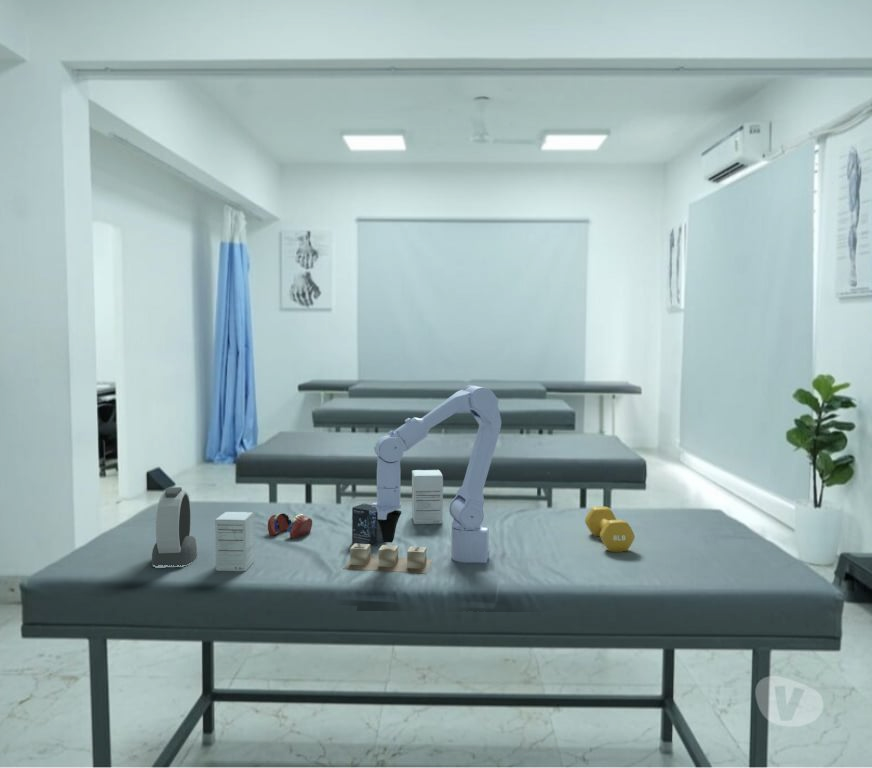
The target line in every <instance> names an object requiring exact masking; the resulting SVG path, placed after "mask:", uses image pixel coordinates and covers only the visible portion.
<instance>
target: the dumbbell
mask: <svg viewBox="0 0 872 768" xmlns="http://www.w3.org/2000/svg"><path fill="white" fill-rule="evenodd" d="M584 522H585V525H586V527H587V529H588V530H589V532H590V533H591V534H592V535H593V536H595V537H599V538H600V540H601V542H602V543H603V545H604V546H605V548H606V549H607V551H609V552H610V553H624V552H623V551H625V552H627V551H628V550H629V549H630V548H631V546H632V544H633V542H634V541H635V537H636V535H635V533H634V531H633V529H632V527H631V526H630V524H629V523H628V522H627V521H626V520H624V519H617V518H616V516H615V514H614V512H613V511H612V509H611V508H609V507H608V506H593V507H591V508H590V510H589V511H588V512H587V515H586V517H585V519H584Z"/></svg>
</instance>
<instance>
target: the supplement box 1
mask: <svg viewBox="0 0 872 768" xmlns="http://www.w3.org/2000/svg"><path fill="white" fill-rule="evenodd" d="M214 521H215V523H214V524H215V570H216V571H217V572H246V571H247V570H248V569H249V568H250V567H251V566H252V564H253V563H254V562H255V540H254V539H255V537H254V536H255V535H254V533H255V531H254V527H255V525H254V524H255V523H254V512H250V511H224V512H223V513H222V514H220V515H219V516H218V517H217V518H216V519H215V520H214Z"/></svg>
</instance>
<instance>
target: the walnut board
mask: <svg viewBox="0 0 872 768" xmlns="http://www.w3.org/2000/svg"><path fill="white" fill-rule="evenodd" d="M432 562H433V559H427V558H426V565H425V567H424V569H419V568H407V557H398V563H397V565H396V566H395V567H384V566H379V556H373V555H372V556H371V555H370V561H369V563H368V564H367V565H350V560H349V561H347V563H345V565H344V566H343V567H342V569H343V570H359V571H378V572H395V573H396V572H397V573H410V574H427V572H428V569H429V568H430V566H431V564H432Z"/></svg>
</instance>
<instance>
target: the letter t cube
mask: <svg viewBox="0 0 872 768" xmlns="http://www.w3.org/2000/svg"><path fill="white" fill-rule="evenodd" d="M349 551H350V553H349V554H350V555H349V556H350V558H349V561H350V565H367V564H368V563H369V561H370V556H371V546H370V544H358V543H353V545H352V546H351V547H350V548H349Z"/></svg>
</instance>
